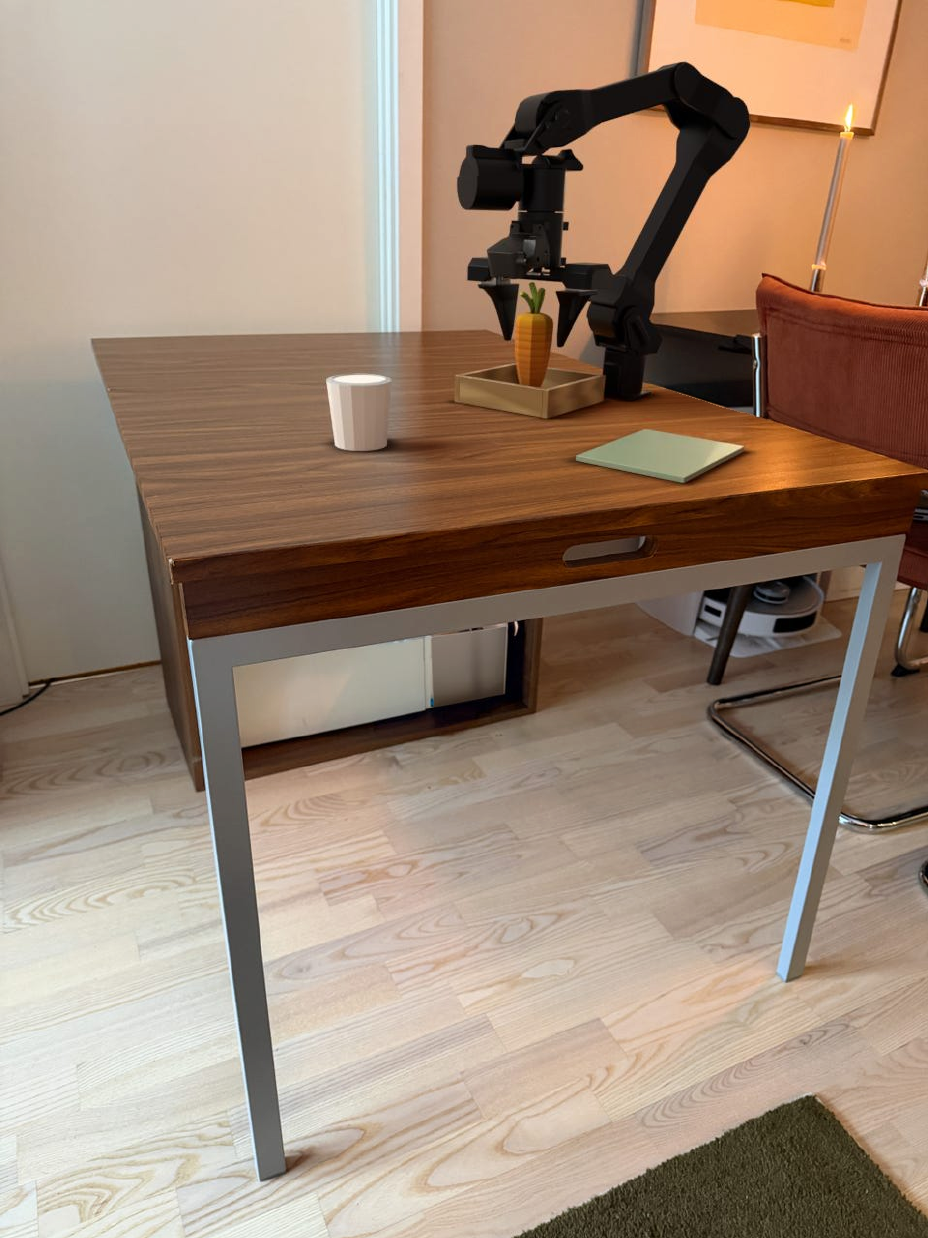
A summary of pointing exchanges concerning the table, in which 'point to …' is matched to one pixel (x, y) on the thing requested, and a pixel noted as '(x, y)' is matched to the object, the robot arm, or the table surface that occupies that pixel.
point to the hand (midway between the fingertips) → (533, 343)
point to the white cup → (359, 410)
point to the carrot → (533, 340)
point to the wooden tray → (529, 391)
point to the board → (661, 455)
